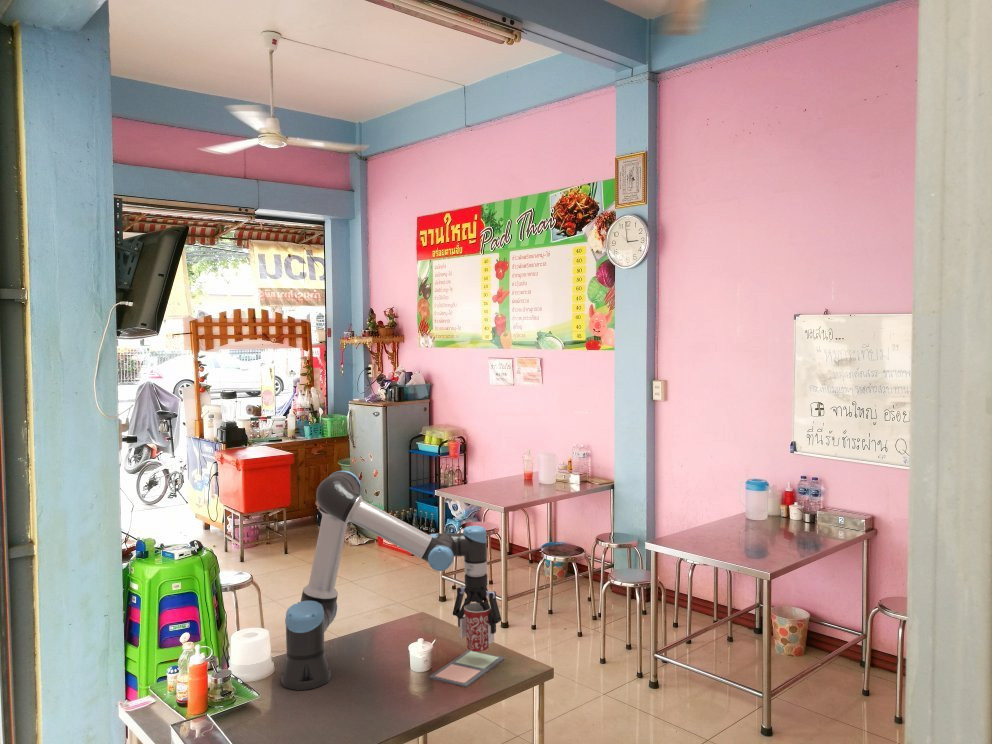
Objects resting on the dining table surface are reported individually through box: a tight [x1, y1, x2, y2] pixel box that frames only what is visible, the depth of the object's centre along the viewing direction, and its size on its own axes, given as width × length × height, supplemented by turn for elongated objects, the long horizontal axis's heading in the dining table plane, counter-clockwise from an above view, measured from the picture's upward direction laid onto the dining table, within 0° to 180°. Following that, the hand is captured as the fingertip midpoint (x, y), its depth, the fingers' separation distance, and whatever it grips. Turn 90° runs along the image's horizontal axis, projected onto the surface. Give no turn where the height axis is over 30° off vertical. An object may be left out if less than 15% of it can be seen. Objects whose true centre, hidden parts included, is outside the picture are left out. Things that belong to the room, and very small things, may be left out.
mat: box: [428, 649, 505, 689], centre depth 250 cm, size 14×24×1 cm, turn 151°
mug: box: [464, 602, 491, 652], centre depth 255 cm, size 13×9×14 cm
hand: (477, 639), depth 255 cm, fingers closed on mug, 10 cm apart
